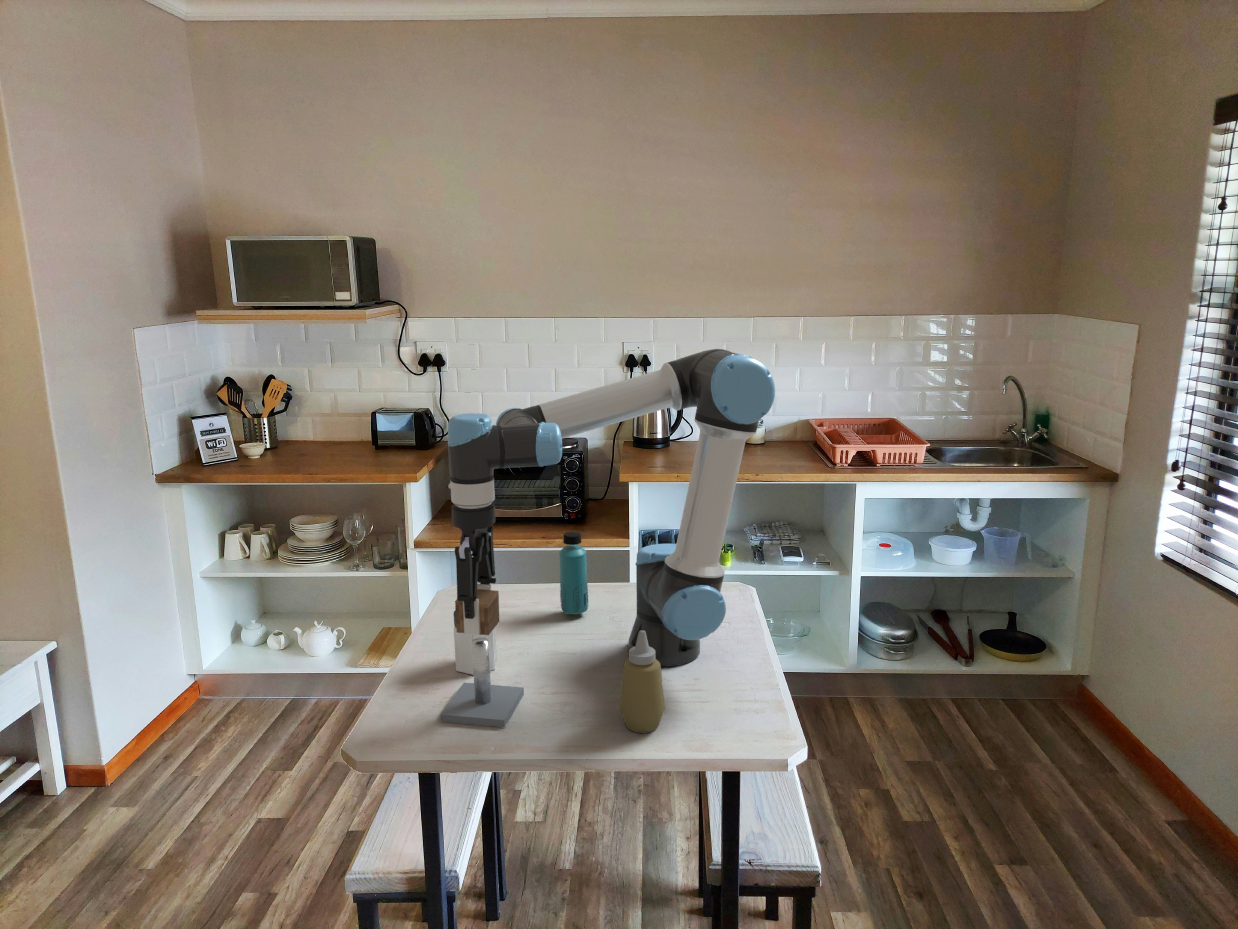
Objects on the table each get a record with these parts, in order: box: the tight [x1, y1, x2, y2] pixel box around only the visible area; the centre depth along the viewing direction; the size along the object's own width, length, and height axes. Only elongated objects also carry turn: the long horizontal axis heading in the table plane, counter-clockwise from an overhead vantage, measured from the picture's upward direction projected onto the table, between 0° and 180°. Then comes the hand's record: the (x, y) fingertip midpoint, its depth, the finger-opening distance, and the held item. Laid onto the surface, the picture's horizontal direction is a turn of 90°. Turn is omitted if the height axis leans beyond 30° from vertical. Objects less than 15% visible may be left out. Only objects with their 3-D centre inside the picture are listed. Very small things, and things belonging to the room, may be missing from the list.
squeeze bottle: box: [619, 630, 666, 734], centre depth 152 cm, size 8×8×18 cm
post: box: [472, 637, 492, 705], centre depth 158 cm, size 3×3×12 cm
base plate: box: [439, 682, 525, 728], centre depth 160 cm, size 12×12×2 cm
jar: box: [453, 609, 498, 676], centre depth 175 cm, size 9×8×12 cm
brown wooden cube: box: [454, 589, 500, 635], centre depth 155 cm, size 6×6×6 cm
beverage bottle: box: [559, 531, 590, 615], centre depth 198 cm, size 6×7×20 cm
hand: (478, 625), depth 156 cm, fingers closed on brown wooden cube, 6 cm apart
